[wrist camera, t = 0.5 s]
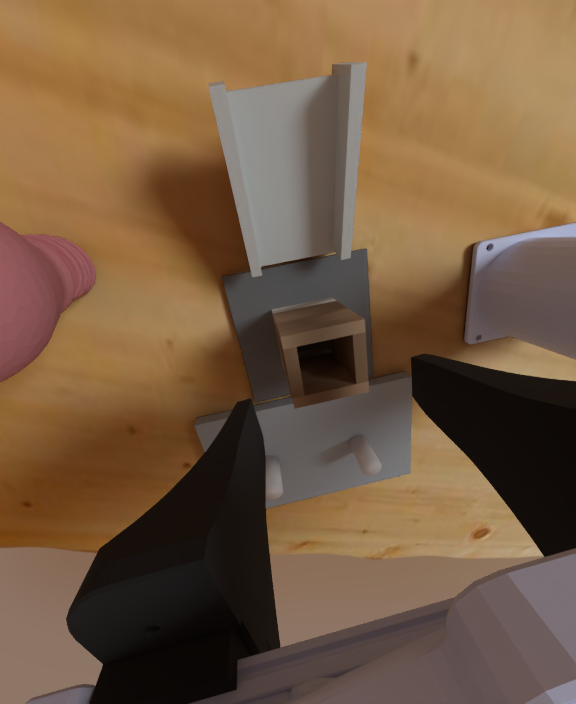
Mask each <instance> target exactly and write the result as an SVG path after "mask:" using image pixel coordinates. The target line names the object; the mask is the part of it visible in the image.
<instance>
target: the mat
mask: <svg viewBox="0 0 576 704" xmlns="http://www.w3.org/2000/svg"><path fill="white" fill-rule="evenodd" d="M261 271H262V276H257V277H252V274H251V271H248V272H243V273H237V274H232V275H227V276H222V280H223V284H224V287H225V291H226V295H227V299H228V302H229V306H230V310H231V314H232V317H233V321H234V325H235V329H236V332H237V336H238V340H239V344H240V348H241V351H242V355H243V359H244V363H245V366H246V370H247V374H248V378H249V381H250V385H251V389H252V393H253V397H254V400H255V402H259V401H263V400H268V399H272V398H277V397H281V396H286V395H290V394H291V393H290V390H289V386H288V382H287V379H286V375H285V371H284V368H283V364H282V359H281V354H280V349H279V344H278V339H277V334H276V329H275V324H274V319H273V314H272V309H277V308H282V307H287V306H291V305H296V304H301V303H306V302H311V301H316V300H321V299H326V298H331V297H332V298H333V299H335V300H336V301H338V302H339V303H341V304H342V305H344V306H345V307H347V308H348V309H350V310H352V311H353V312H355V313H356V314H358V315H359V316H361V317H362V318H364V319H365V332H366V348H367V365H368V377H371V376H373V357H372V338H371V318H370V298H369V279H368V259H367V249H360V250H355V251H351V258H349V259H344V260H341V259H340V258H339V256H338V255H337V254H335V255H330V256H325V257H319V258H314V259H309V260H304V261H299V262H294V263H289V264H284V265H278V266H273V267H268V268H263V269H261ZM327 346H328V343H327V340H326V341H321V342H317V343H312V344H307V345H303V346H298V347H296V348H297V353H299V352H304V351H308V350H313V349H318V348H322V347H327Z"/></svg>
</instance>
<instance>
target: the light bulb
mask: <svg viewBox="0 0 576 704" xmlns="http://www.w3.org/2000/svg"><path fill="white" fill-rule="evenodd" d="M95 280H96V273H95V268H94V266H93V263H92V261H91V259H90V258H89V257H88V256H87V254H86V253H85V252H84V251H83V250H82V249H81V248H80V247H78V246H77V245H76V244H74V243H72V242H70V241H68V240H66V239H64V238H60V237H56V236H49V235H45V234H39V235H32V234H30V235H29V234H28V235H20V234H18V233H17V232H15V231H14V230H12V229H11V228H9V227H7V226H6V225H4V224H3V223H1V222H0V382H2V381H4V380H6V379H8V378H9V377H11V376H13V375H14V374H16V373H18V372H19V371H21V370H22V369H23V368H25V367H26V366H27V365H29V364H30V363H31V362H32V361H34V360H35V359H36V358H37V357H38V356H39V354H40V353H41V352H42V351H43V349H44V348H45V347H46V345H47V344H48V342H49V341H50V339H51V337H52V335H53V332H54V329H55V327H56V324H57V322H58V319H59V317H60V313H62V312H63V311H64V310H66V309H67V307H68V306H69V305H70V304H71V302H72V300H75V299H77V298H79V297H81V295H84V294H86V293H87V292H89V291H90V290H91V289H92V287H93V285H94V284H95Z"/></svg>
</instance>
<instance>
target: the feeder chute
mask: <svg viewBox="0 0 576 704" xmlns="http://www.w3.org/2000/svg"><path fill="white" fill-rule="evenodd" d="M366 65H367V62H344V63H337V64H332V75H326V76H320V77H313V78H307V79H300V80H294V81H288V82H281V83H275V84H269V85H262V86H256V87H249V88H243V89H237V90H230V91H226V88H225V84H224V82H223V81H221V82H215V83H209V91H210V95H211V100H212V104H213V108H214V113H215V117H216V121H217V126H218V130H219V134H220V139H221V143H222V148H223V152H224V156H225V161H226V165H227V169H228V174H229V178H230V182H231V187H232V191H233V195H234V200H235V204H236V209H237V213H238V217H239V222H240V226H241V230H242V235H243V239H244V243H245V248H246V252H247V257H248V261H249V265H250V270H251V274H252V277H257V276H262V271H261V266H266V265H272V264H277V263H282V262H287V261H292V260H297V259H302V258H307V257H313V256H318V255H323V254H328V253H333V252H336V253H337V255H338V256H339V258H340V259H341V260H344V259H349V258H351V247H352V235H353V223H354V211H355V198H356V186H357V174H358V162H359V150H360V138H361V126H362V114H363V102H364V89H365V77H366Z"/></svg>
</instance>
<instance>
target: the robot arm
mask: <svg viewBox="0 0 576 704" xmlns="http://www.w3.org/2000/svg"><path fill="white" fill-rule="evenodd" d="M488 245H489V248H488V249H486V248H487V246H488ZM477 336H478V337H477ZM508 336H511V337H514V338H516V339H519V340H522V341H525V342H528V343H530V344H533V345H536V346H539V347H542V348H544V349H547V350H550V351H553V352H556V353H558V354H561V355H564V356H567V357H569V358H572V359H575V360H576V222H575V223H570V224H565V225H560V226H555V227H550V228H545V229H539V230H534V231H529V232H524V233H519V234H514V235H509V236H504V237H499V238H494V239H489V240H484V241H480V242H478V243H476V244H475V246H474V248H473V256H472V266H471V276H470V286H469V296H468V306H467V317H466V327H465V337H464V341H465V342H466V343H468V344H476V343H480V342H485V341H490V340H494V339H499V338H503V337H508ZM476 337H477V338H476ZM411 368H412V396H413V398H414V399H415V400H416V402H417V403H418V405H419V406H420V407H421V409H422V410H423V411H424V412H425V414H426V415H427V416H428V417H429V418H430V419H431V420H432V421H433V422H434V423H435V424H436V425H437V426H438V427H439V428H440V429H441V430H442V431H443V432H444V433H445V434H446V435H447V436H448V437H449V438H450V439H451V440H452V441H453V442H454V443H455V444H456V445H457V446H458V447H459V448H460V449H461V450H462V451H463V452H464V453H465V454H466V455H467V456H468V457H469V458H470V460H471V461H472V462H473V463H474V464H475V465H476V466H477V468H478V469H479V470H480V471H481V473H482V474H483V475H484V476H485V477H486V479H487V480H488V481H489V482H490V484H491V485H492V486H493V487H494V489H495V490H496V491H497V492H498V494H499V495H500V496H501V498H502V499H503V500H504V501H505V503H506V504H507V505H508V507H509V508H510V509H511V511H512V512H513V513H514V515H515V516H516V517H517V519H518V520H519V522H520V523H521V524H522V526H523V527H524V528H525V530H526V531H527V533H528V534H529V535H530V537H531V538H532V539H533V541H534V542H535V544H536V545H537V547H538V548H539V550H540V551H541V552H542V554H543V555H544V558H540V559H537V560H533V561H530V562H526V563H523V564H519V565H516V566H512V567H509V568H505V569H502V570H499V571H497V572H495V573H492V574H490V575H488V576H485V577H483V578H481V579H479V580H476V581H474V582H473V583H472V584H470V585H469V586H468V587H467V588H466V589H464V590H463V591H462V592H461V593H459V594H458V595H457V596H456V597H454V598H451V599H447V600H444V601H441V602H437V603H434V604H430V605H427V606H423V607H420V608H416V609H413V610H410V611H406V612H402V613H399V614H396V615H392V616H389V617H385V618H382V619H378V620H375V621H371V622H368V623H364V624H361V625H357V626H354V627H350V628H347V629H343V630H340V631H337V632H333V633H330V634H326V635H323V636H319V637H316V638H313V639H309V640H305V641H302V642H298V643H295V644H292V645H288V646H285V647H281V648H280V640H279V632H278V624H277V617H276V608H275V599H274V591H273V582H272V574H271V564H270V554H269V544H268V534H267V523H266V455H265V446H264V438H263V434H262V430H261V427H260V424H259V421H258V418H257V415H256V412H255V409H254V406H253V403H252V400H251V399H247V400H243V401H240V402H237V403H236V405H235V407H234V408H233V410H232V412H231V413H230V415H229V417H228V419H227V420H226V422H225V424H224V425H223V427H222V428H221V430H220V432H219V433H218V435H217V436H216V438H215V439H214V441H213V442H212V443H211V445H210V446H209V448H208V449H207V450H206V452H205V453H204V454H203V456H202V457H201V458H200V459H199V460H198V462H197V463H196V464H195V465H194V466H193V467H192V469H191V470H190V471H189V472H188V473H187V474H186V475H185V476H184V477H183V478H182V479H181V480H180V481H179V482H178V483H177V484H176V485H175V486H174V487H173V488H172V489H171V490H170V491H169V492H168V493H167V494H166V495H165V496H164V497H163V498H162V499H161V500H160V501H159V502H158V503H156V504H155V505H154V506H153V507H152V508H151V509H149V510H148V511H147V512H146V513H145V514H144V515H142V516H141V517H140V518H139V519H138V520H136V521H135V522H134V523H133V524H131V525H130V526H129V527H127V528H126V529H125V530H123V531H122V532H121V533H120V534H118V535H117V536H116V537H114V538H113V539H112V540H110V541H109V542H108V543H106V544H105V545H104V546H102V547H101V548H100V549H99V551H98V553H97V555H96V557H95V559H94V561H93V563H92V565H91V567H90V569H89V571H88V573H87V575H86V577H85V579H84V581H83V583H82V585H81V587H80V589H79V591H78V593H77V595H76V597H75V599H74V601H73V603H72V605H71V607H70V609H69V612H68V615H67V618H66V620H67V625H68V629H69V632H70V633H71V635H72V636H73V637H74V638H75V640H76V641H77V642H79V643H80V644H81V645H82V646H83V647H84V648H85V649H87V650H88V651H89V652H90V653H91V654H92V655H93V656H94V657H96V658H97V659H98V660H99V661H100V662H102V664H103V667H102V670H101V672H100V675H99V678H98V681H97V684H96V686H94V685H89V684H82V685H76V686H73V687H69V688H65V689H62V690H58V691H55V692H51V693H48V694H44V695H41V696H37V697H34V698H31V699H30V700H29V701H28V702H26V704H576V381H567V380H556V379H548V378H540V377H533V376H527V375H520V374H514V373H509V372H504V371H499V370H494V369H489V368H485V367H480V366H476V365H472V364H468V363H464V362H459V361H455V360H451V359H447V358H443V357H439V356H434V355H429V354H422V355H418V356H414V357H411Z"/></svg>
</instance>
